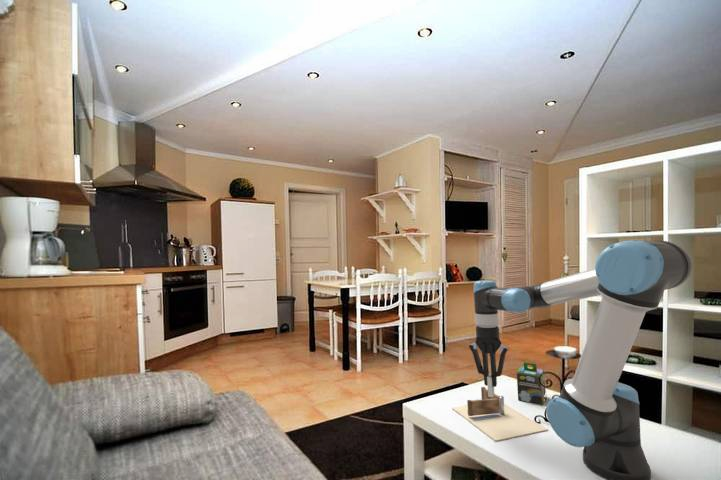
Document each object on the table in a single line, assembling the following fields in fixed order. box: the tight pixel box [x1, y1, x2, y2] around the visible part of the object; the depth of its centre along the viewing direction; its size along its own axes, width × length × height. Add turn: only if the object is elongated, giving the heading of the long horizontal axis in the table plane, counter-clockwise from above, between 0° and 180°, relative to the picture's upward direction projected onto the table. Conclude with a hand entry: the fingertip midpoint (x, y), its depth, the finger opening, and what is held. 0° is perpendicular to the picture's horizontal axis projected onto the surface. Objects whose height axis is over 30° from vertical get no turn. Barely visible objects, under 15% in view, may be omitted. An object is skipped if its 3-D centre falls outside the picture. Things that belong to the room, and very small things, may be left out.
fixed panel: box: [480, 386, 500, 411], centre depth 134 cm, size 10×1×6 cm, turn 17°
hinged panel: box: [467, 398, 499, 416], centre depth 127 cm, size 12×1×5 cm, turn 98°
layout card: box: [451, 403, 549, 443], centre depth 126 cm, size 25×21×1 cm
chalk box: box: [516, 361, 547, 406], centre depth 142 cm, size 9×9×15 cm
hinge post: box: [498, 395, 505, 415], centre depth 128 cm, size 2×2×6 cm
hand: (491, 395), depth 119 cm, fingers closed
